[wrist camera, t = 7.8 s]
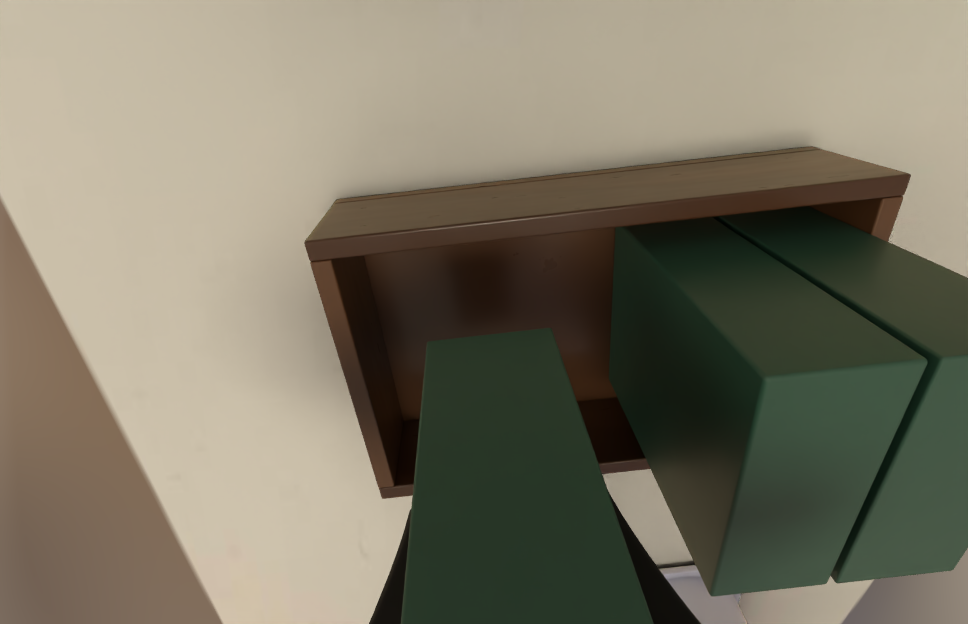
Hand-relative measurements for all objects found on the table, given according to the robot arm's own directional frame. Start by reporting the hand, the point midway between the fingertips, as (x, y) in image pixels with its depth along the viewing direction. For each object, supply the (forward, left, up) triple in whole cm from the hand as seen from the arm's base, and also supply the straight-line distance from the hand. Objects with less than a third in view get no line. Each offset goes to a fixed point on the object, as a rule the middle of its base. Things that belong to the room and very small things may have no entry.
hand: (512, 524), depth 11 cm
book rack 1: (0, -4, -9) cm, 10 cm away
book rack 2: (0, -10, -9) cm, 13 cm away
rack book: (0, -6, -9) cm, 11 cm away
